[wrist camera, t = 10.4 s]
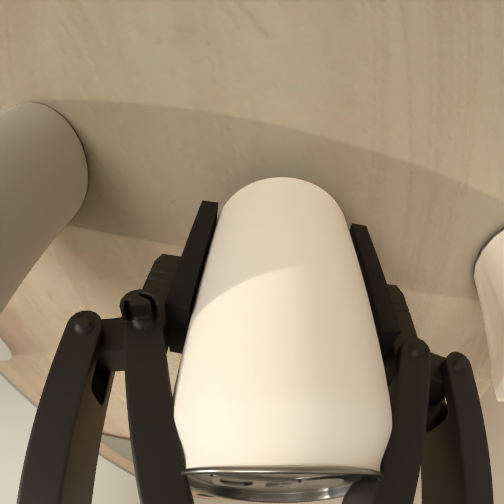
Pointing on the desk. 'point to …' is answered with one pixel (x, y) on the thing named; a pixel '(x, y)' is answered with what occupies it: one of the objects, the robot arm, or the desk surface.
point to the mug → (35, 187)
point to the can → (281, 355)
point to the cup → (493, 304)
